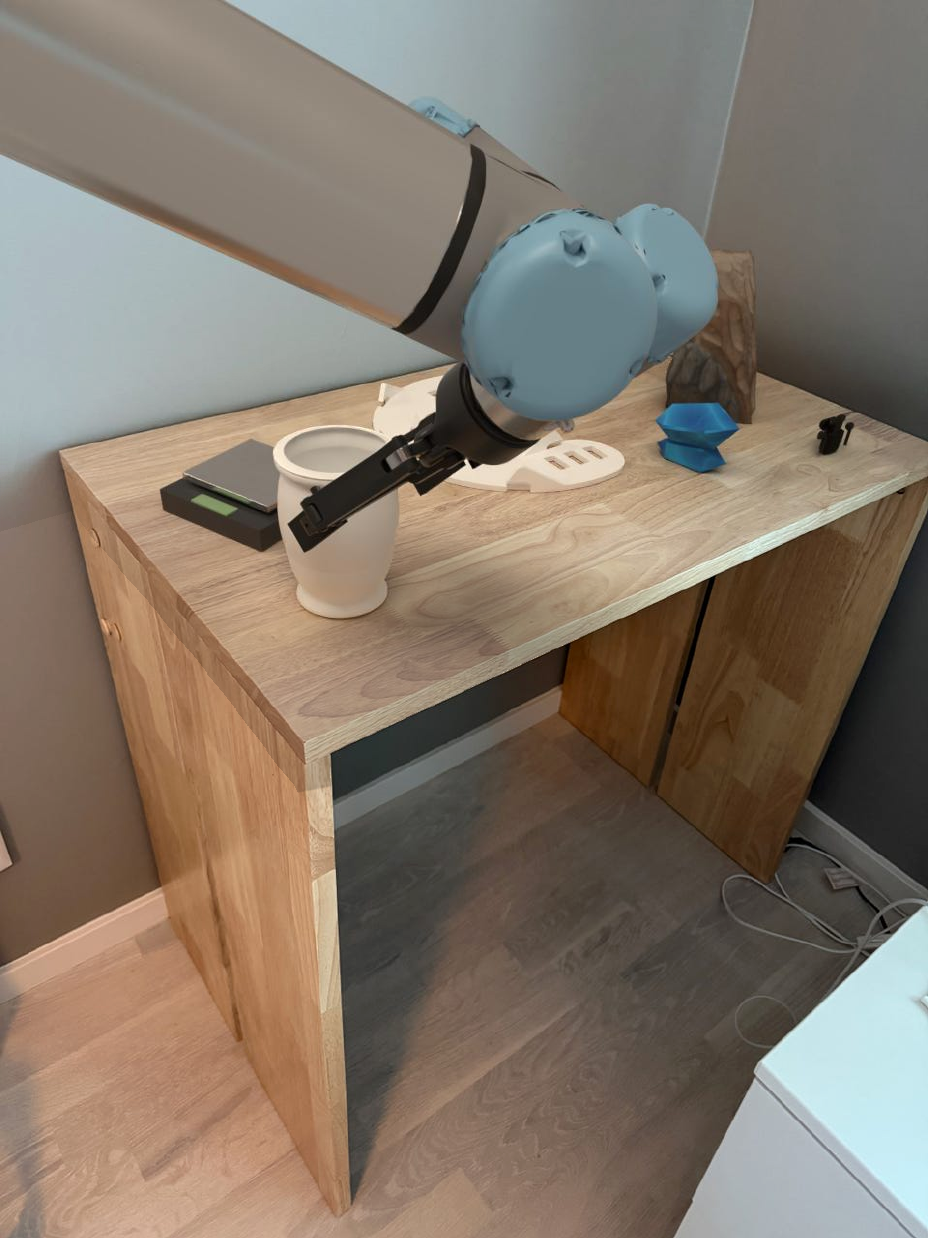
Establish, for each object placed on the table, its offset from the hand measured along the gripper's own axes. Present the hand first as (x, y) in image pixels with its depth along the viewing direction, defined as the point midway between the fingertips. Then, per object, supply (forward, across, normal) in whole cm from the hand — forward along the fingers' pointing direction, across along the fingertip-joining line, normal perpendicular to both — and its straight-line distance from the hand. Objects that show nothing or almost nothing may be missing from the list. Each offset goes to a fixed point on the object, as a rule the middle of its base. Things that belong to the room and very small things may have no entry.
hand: (360, 508), depth 75 cm
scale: (+23, +5, +8) cm, 25 cm away
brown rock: (+8, +66, -7) cm, 67 cm away
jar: (+9, 0, -6) cm, 11 cm away
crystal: (+3, +49, -12) cm, 51 cm away
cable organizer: (+19, +35, +4) cm, 40 cm away
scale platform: (+21, +5, +10) cm, 24 cm away
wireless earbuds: (-4, +66, -20) cm, 69 cm away
